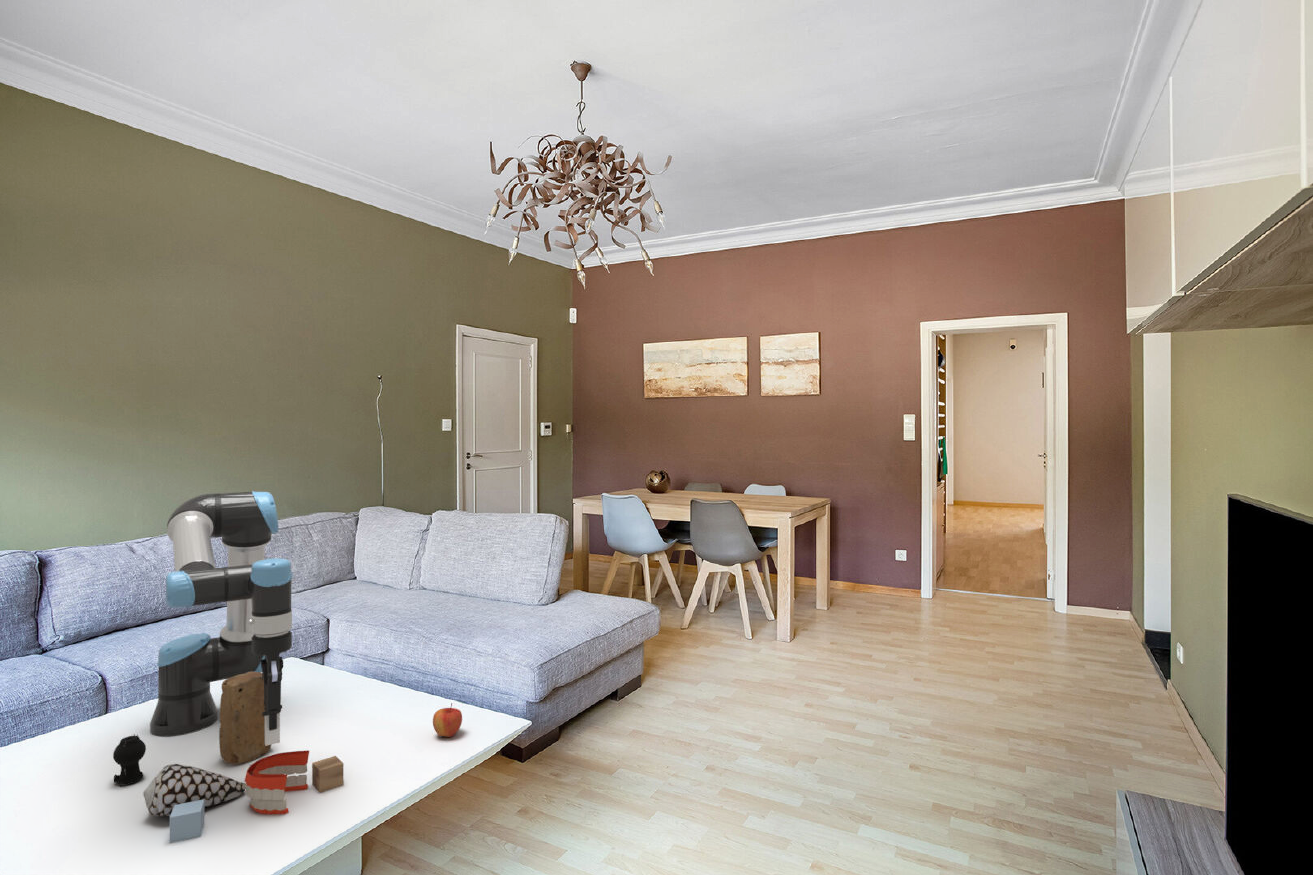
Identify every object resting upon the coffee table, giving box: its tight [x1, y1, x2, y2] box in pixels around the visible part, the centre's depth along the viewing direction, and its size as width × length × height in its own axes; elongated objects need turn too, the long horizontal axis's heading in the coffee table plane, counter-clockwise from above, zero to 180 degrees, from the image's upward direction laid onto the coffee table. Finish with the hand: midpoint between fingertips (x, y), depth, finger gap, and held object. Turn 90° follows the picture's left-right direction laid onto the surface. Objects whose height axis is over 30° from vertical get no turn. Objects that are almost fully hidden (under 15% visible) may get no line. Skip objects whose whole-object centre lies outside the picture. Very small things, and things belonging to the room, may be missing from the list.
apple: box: [432, 702, 463, 738], centre depth 179 cm, size 7×7×8 cm
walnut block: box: [311, 755, 344, 794], centre depth 154 cm, size 5×5×5 cm
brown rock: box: [218, 671, 272, 765], centre depth 168 cm, size 11×8×20 cm
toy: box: [244, 749, 310, 815], centre depth 147 cm, size 12×10×8 cm
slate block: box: [169, 799, 205, 844], centre depth 135 cm, size 5×5×5 cm
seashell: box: [142, 763, 246, 817], centre depth 145 cm, size 16×13×10 cm
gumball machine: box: [112, 733, 147, 788], centre depth 156 cm, size 7×6×10 cm
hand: (272, 742), depth 147 cm, fingers closed
